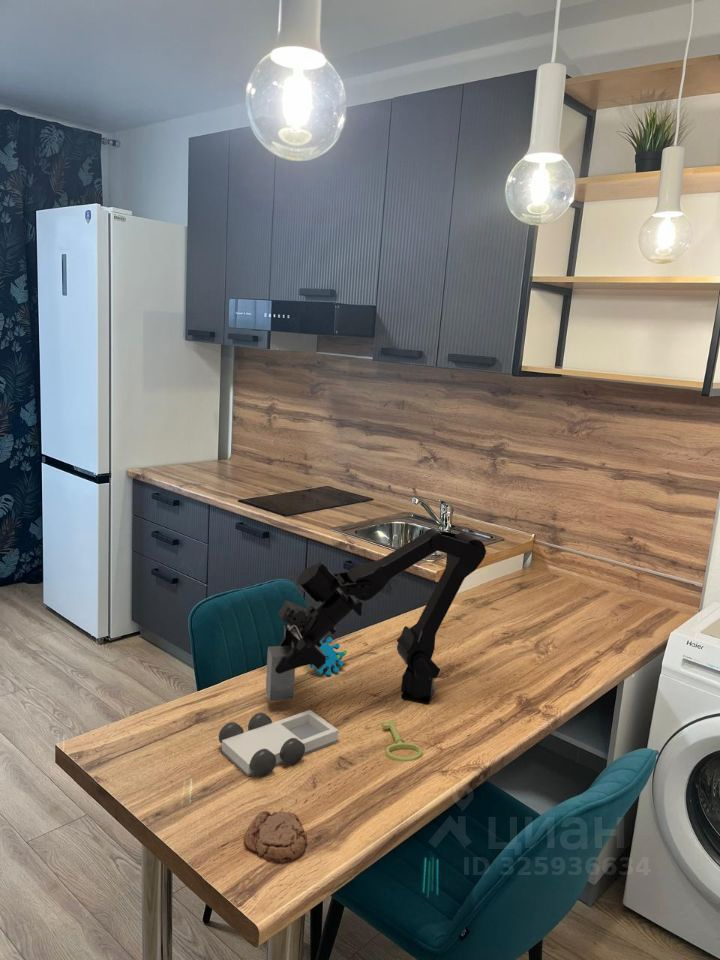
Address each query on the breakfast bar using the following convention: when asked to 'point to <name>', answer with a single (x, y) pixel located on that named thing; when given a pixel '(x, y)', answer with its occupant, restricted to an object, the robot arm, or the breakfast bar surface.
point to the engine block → (279, 675)
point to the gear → (330, 657)
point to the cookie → (276, 836)
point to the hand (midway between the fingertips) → (274, 666)
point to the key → (400, 745)
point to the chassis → (275, 741)
